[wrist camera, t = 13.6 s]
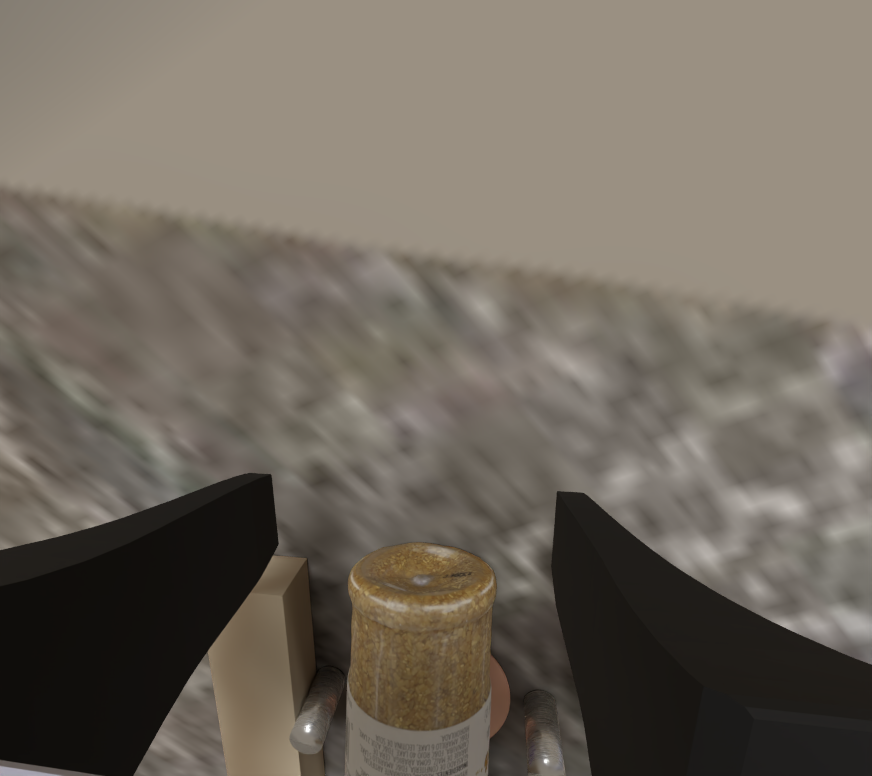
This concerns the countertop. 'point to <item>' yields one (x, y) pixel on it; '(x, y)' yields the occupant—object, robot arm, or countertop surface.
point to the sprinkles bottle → (419, 663)
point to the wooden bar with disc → (281, 676)
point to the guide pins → (538, 715)
